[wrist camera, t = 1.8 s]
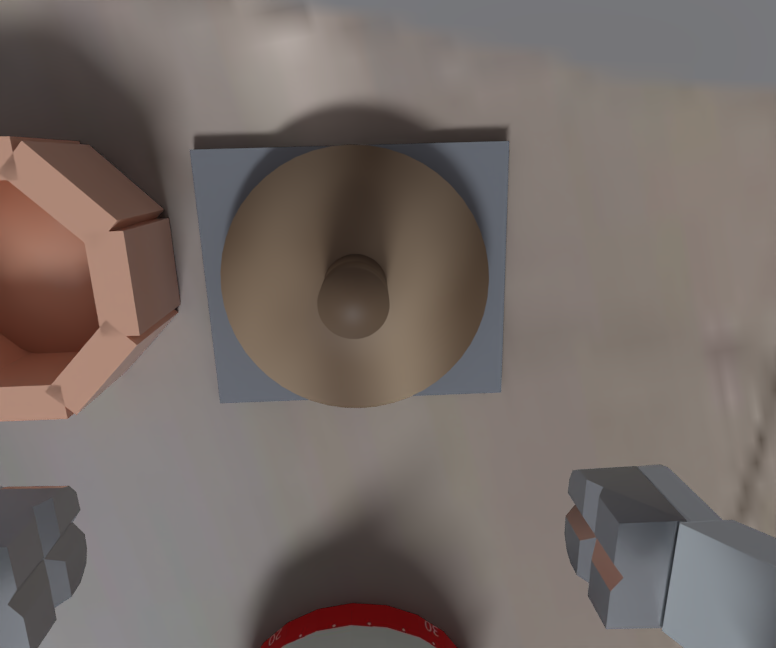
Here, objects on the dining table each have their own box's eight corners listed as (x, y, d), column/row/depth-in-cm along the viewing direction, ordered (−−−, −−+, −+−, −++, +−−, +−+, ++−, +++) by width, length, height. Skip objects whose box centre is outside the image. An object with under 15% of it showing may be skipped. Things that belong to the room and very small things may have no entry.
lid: (487, 142, 25) (514, 137, 20) (480, 393, 28) (502, 439, 23) (213, 148, 24) (177, 145, 20) (240, 401, 28) (214, 449, 23)
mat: (506, 141, 25) (509, 141, 25) (498, 387, 29) (501, 392, 28) (193, 149, 25) (189, 149, 24) (223, 398, 28) (220, 403, 28)
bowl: (158, 139, 25) (107, 133, 20) (189, 371, 28) (152, 415, 23) (-96, 145, 24) (-209, 142, 20) (-36, 380, 28) (-121, 426, 23)
